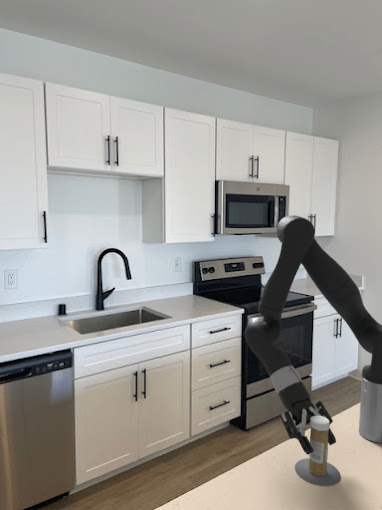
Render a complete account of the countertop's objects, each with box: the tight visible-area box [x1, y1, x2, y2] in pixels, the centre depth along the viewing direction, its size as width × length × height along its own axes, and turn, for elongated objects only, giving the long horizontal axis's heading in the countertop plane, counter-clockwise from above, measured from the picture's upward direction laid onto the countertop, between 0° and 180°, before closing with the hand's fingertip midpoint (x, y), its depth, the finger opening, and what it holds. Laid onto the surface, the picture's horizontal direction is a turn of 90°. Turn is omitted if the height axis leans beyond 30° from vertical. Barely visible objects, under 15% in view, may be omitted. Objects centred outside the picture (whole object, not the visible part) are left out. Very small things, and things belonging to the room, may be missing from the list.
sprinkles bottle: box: [308, 416, 331, 476], centre depth 97 cm, size 5×5×13 cm
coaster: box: [294, 457, 342, 487], centre depth 97 cm, size 11×11×1 cm
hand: (322, 448), depth 96 cm, fingers open, 8 cm apart
